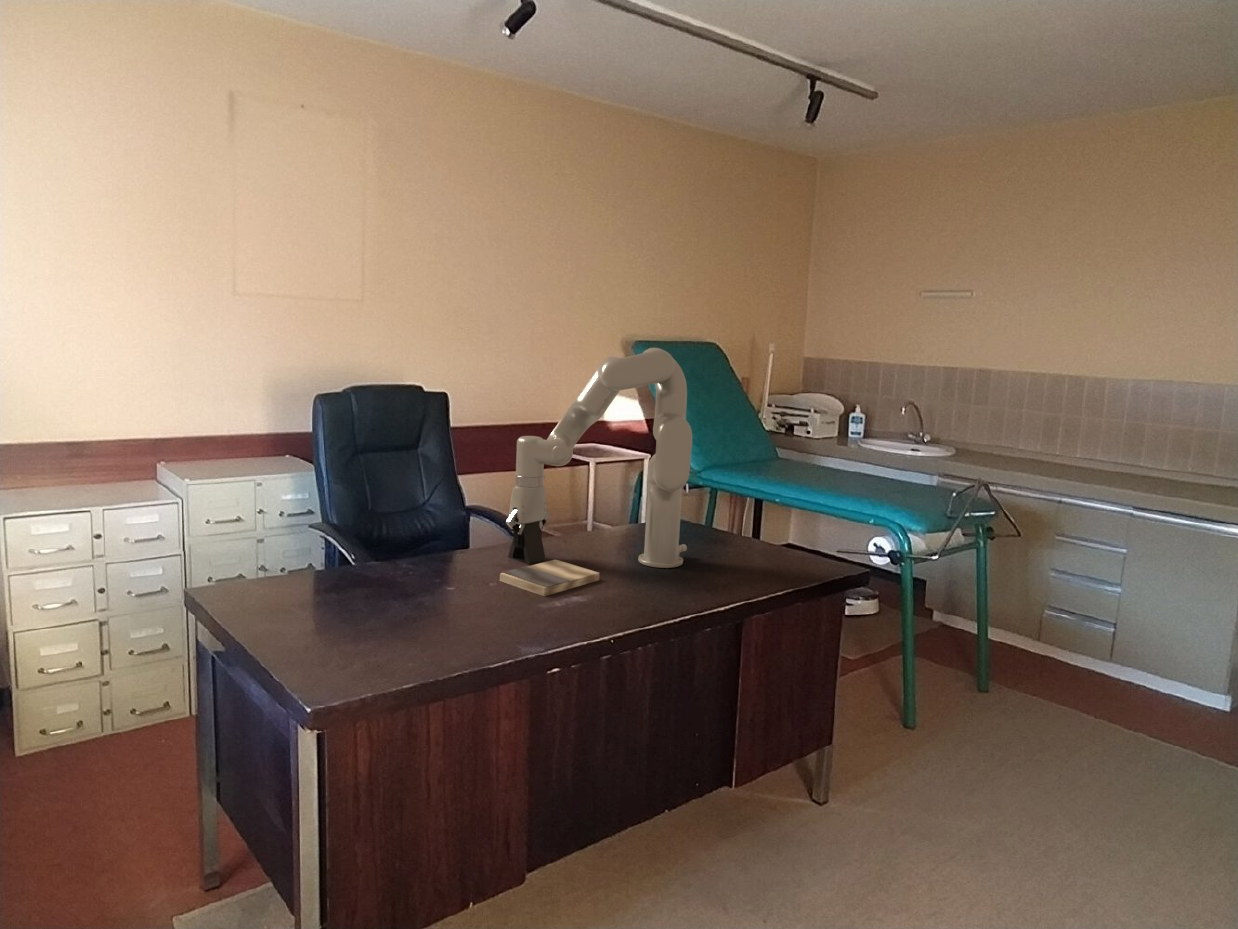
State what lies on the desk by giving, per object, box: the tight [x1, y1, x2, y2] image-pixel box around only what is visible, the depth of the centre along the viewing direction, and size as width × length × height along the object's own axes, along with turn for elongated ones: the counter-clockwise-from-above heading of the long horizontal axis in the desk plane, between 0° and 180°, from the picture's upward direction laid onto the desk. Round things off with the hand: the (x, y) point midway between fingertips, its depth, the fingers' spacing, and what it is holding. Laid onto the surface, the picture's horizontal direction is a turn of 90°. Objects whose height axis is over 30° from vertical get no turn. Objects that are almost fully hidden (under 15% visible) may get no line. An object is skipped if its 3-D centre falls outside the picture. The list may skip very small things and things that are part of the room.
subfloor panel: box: [499, 559, 600, 597], centre depth 229 cm, size 20×16×2 cm
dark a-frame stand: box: [507, 521, 547, 566], centre depth 247 cm, size 9×6×12 cm, turn 46°
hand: (527, 544), depth 247 cm, fingers closed on dark a-frame stand, 6 cm apart
